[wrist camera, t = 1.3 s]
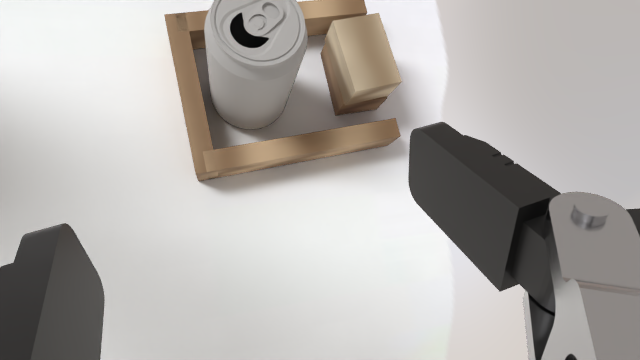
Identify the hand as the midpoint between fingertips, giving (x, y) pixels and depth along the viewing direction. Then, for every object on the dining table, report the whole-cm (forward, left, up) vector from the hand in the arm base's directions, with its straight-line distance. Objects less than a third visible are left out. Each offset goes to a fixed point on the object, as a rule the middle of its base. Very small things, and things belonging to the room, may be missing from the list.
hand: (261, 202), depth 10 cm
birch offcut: (+13, +12, -22) cm, 28 cm away
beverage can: (+3, +12, -25) cm, 28 cm away
